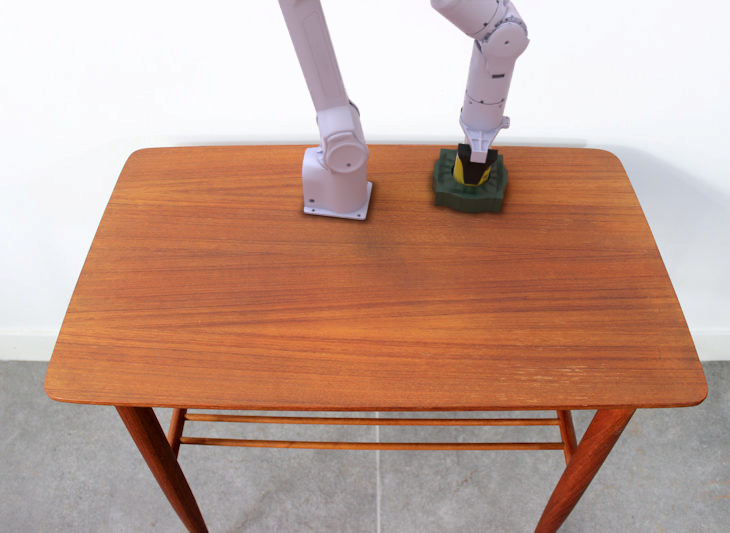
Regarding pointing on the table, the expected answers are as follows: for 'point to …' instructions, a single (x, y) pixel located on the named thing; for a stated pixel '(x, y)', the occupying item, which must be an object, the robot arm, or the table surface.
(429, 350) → the table surface
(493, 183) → the holder
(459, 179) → the supplement bottle
